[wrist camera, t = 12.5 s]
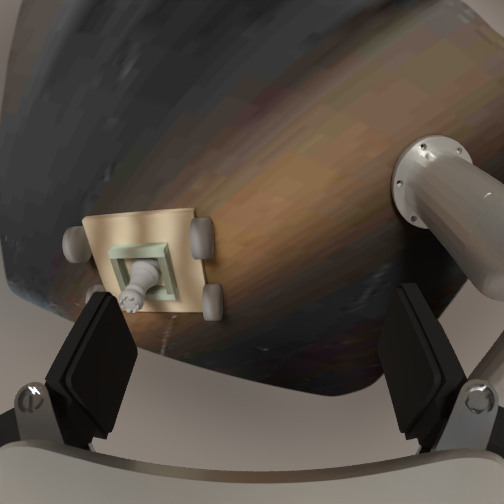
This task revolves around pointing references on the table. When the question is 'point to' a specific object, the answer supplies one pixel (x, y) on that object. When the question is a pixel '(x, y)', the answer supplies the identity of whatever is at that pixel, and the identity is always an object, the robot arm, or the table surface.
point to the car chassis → (156, 247)
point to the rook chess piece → (139, 283)
